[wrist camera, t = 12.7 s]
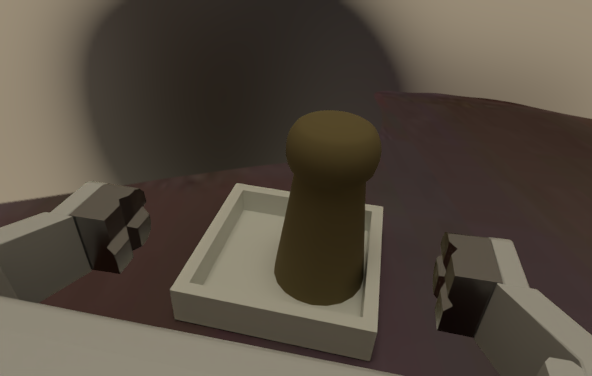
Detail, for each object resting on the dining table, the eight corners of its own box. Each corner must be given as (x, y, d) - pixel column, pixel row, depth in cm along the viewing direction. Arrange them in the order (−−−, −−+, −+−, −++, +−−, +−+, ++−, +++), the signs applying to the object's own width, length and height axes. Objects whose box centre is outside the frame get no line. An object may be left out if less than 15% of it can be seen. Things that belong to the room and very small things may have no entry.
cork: (256, 281, 26) (256, 125, 20) (300, 231, 31) (311, 91, 25) (341, 321, 24) (370, 158, 18) (376, 260, 29) (408, 114, 23)
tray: (377, 232, 32) (383, 207, 31) (369, 361, 23) (377, 332, 21) (237, 208, 34) (236, 183, 33) (174, 319, 24) (169, 290, 23)
